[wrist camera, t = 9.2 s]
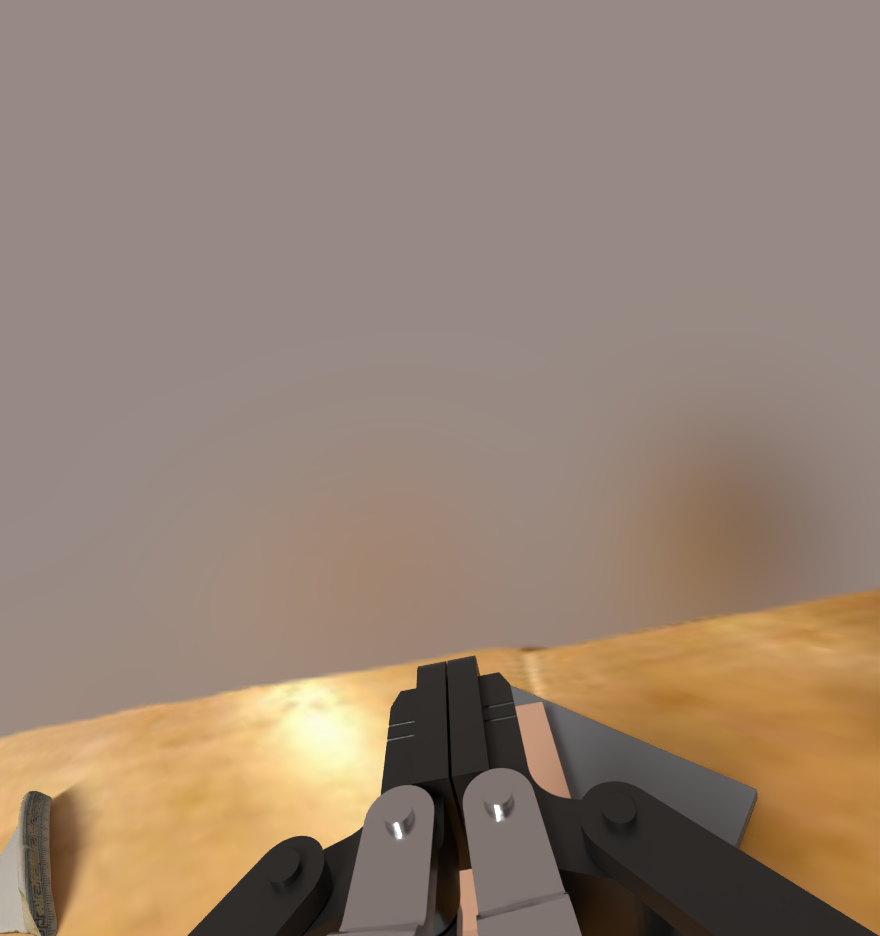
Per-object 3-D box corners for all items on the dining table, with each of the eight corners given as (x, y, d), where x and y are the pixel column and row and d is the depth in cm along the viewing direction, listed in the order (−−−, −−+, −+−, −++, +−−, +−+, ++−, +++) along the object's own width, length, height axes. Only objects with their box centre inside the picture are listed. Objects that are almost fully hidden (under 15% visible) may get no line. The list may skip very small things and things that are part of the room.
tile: (442, 969, 24) (440, 745, 38) (609, 943, 24) (546, 726, 38) (434, 935, 24) (434, 720, 37) (603, 908, 24) (542, 701, 37)
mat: (512, 691, 43) (511, 685, 43) (757, 798, 30) (756, 789, 30) (277, 926, 28) (274, 918, 28) (557, 1326, 15) (555, 1315, 15)
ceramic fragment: (60, 942, 30) (35, 892, 29) (-55, 1020, 27) (-86, 968, 27) (61, 804, 41) (43, 765, 41) (-20, 849, 39) (-42, 808, 38)
